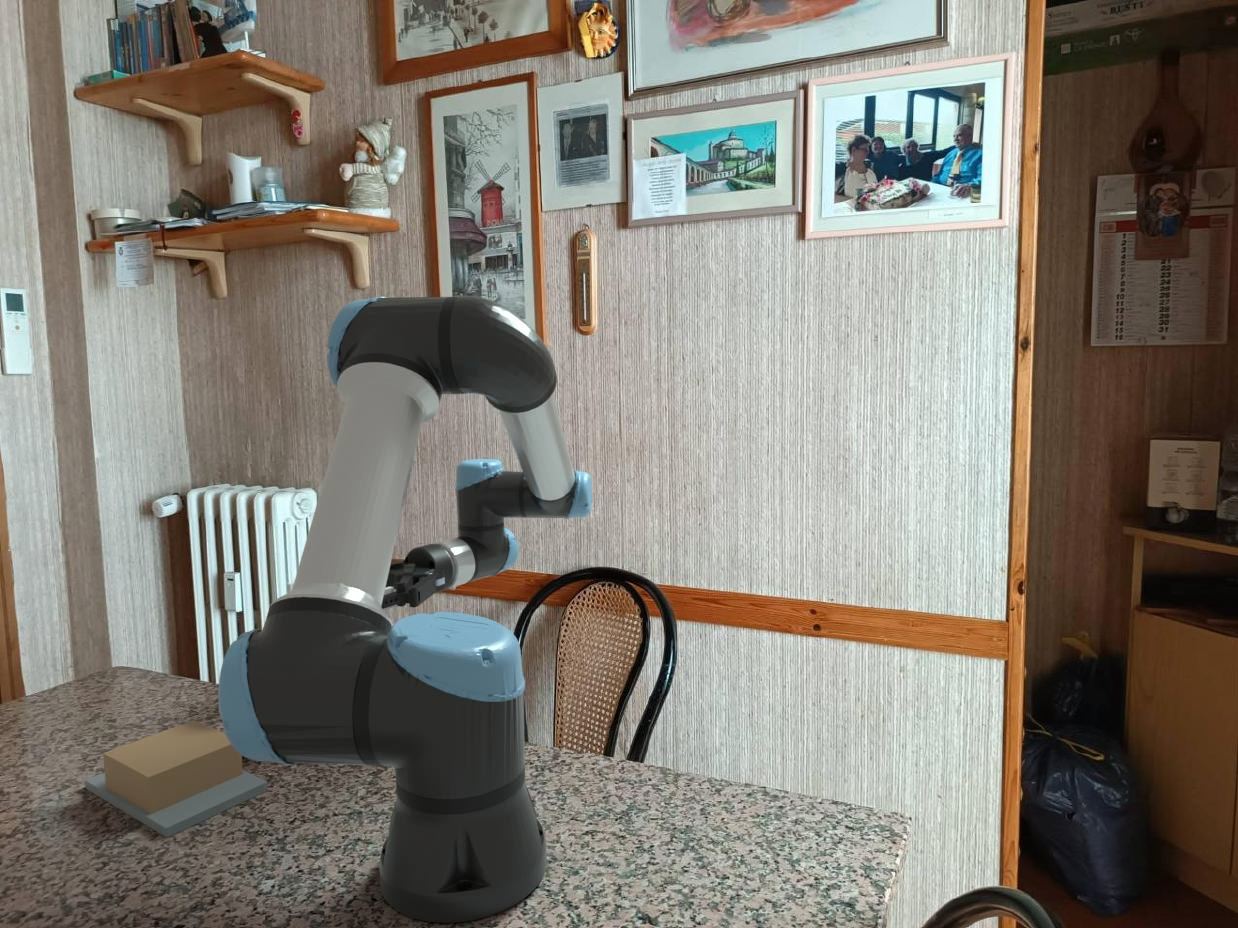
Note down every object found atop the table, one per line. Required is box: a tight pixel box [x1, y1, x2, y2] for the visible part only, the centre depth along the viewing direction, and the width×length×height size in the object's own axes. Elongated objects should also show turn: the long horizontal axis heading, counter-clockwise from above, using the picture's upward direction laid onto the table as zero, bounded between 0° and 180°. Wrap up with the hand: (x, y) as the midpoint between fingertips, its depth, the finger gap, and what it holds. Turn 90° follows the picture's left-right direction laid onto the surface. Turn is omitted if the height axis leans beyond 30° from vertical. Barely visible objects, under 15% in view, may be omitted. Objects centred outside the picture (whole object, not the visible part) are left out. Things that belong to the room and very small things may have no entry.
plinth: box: [84, 719, 269, 838], centre depth 89 cm, size 18×11×5 cm, turn 56°
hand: (319, 600), depth 106 cm, fingers open, 13 cm apart
